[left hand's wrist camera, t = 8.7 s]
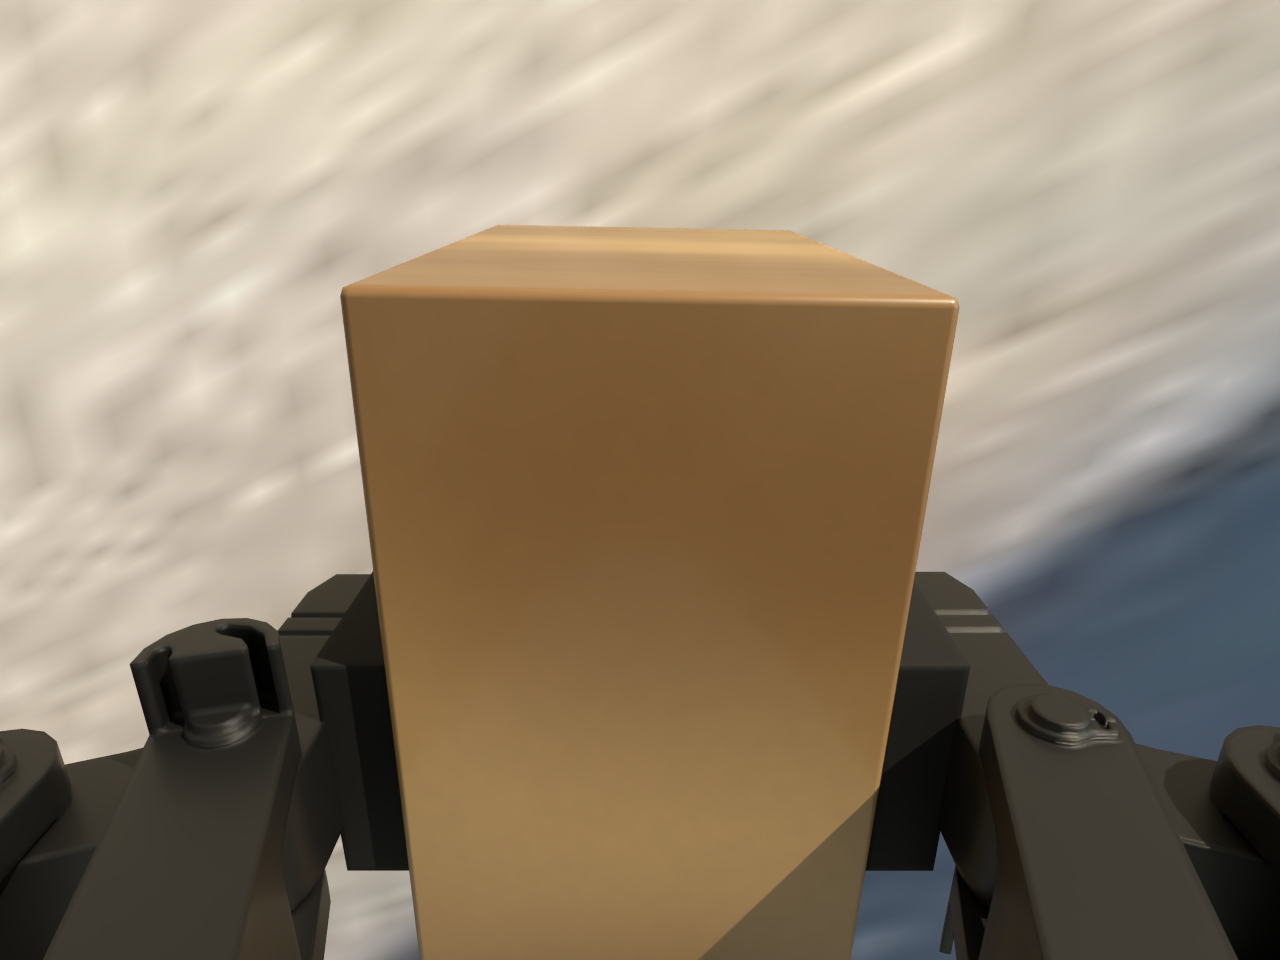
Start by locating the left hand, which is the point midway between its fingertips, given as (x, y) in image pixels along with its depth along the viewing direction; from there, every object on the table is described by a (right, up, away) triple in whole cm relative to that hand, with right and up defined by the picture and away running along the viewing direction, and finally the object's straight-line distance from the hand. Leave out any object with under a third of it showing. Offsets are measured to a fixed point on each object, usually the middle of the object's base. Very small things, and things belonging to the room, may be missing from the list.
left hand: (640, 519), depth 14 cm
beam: (-1, -28, +12) cm, 31 cm away
